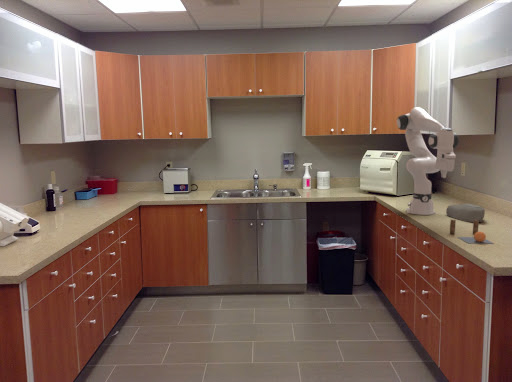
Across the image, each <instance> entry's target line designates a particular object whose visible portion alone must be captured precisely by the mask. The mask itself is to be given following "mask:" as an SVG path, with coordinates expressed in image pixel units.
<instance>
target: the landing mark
mask: <svg viewBox="0 0 512 382" xmlns="http://www.w3.org/2000/svg"><path fill="white" fill-rule="evenodd" d="M457 238H458V239H459V238H460V240H461V241H463V242H464V243H467V244H477V245H479V244H482V245H484V244H487V245H488V244H489V245H490V244H491V245H492V244H494V242H492V241H490V240H488V239H487V238H486V239H485V240H484V241H483V242H477V241H476V240H475V239H474V236H457Z"/></svg>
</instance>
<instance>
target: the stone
mask: <svg viewBox="0 0 512 382" xmlns="http://www.w3.org/2000/svg"><path fill="white" fill-rule="evenodd" d="M445 211H446V212H445V213H446V215H447V216H448V217H450V218H453V219H454V220H459V219H460V220H459V221H462V222H467V223H473V221H474V220H479V223H482V222H483V220H484V218H485V212H486V211H485V209H484V208H483V207H482V206H480V205H477V204H474V203H463V204H451V205H448V206H447V208H446V210H445Z"/></svg>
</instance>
